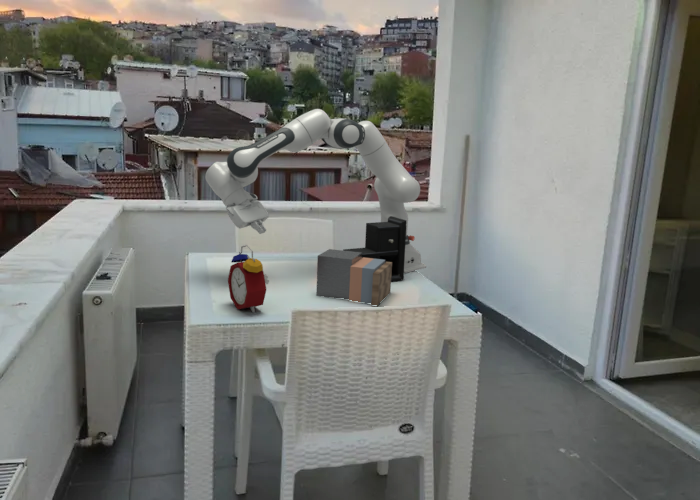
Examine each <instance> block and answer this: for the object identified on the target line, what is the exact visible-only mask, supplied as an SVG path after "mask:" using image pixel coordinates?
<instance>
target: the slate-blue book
mask: <svg viewBox="0 0 700 500" xmlns="http://www.w3.org/2000/svg"><path fill="white" fill-rule="evenodd" d="M384 263H385V260H382V259H373V260H372V261H370V262H369V263H368V264H367V265H365V266H364V267H363V268H362V284H361V302H365V303H371V301H372V283H373V273H374V272H375V271H376V270H377V269H378V268H380V267H381V266H382V265H383V264H384Z"/></svg>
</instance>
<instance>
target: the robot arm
mask: <svg viewBox="0 0 700 500" xmlns="http://www.w3.org/2000/svg"><path fill="white" fill-rule="evenodd" d="M319 140H322V142H323V143H324V144H326V145H327V146H329V147H332V148H336V149H346V150H347V149H352V148H356V149H357V151H358V152H359V155H360V156H361V158H362V159H363V161H364V162H365V164H366V166H367V168H368V169H369V171H370V172H371V173H372V174H373V175H374V176H375V177H376V178H375V181H374V184H373V185H374V187H373V188H374V191H375V192H376V194H377V198H378V203H379V209H380V222H388V218H389V217H390V216H393V217H396V218H400V219H403V220H407V221H406V222H407V224H406V243H405V261H404V274H405V273H406V274H407V273H410V272H415V271H418V270H422V269H423V270H424V269H426V268H427V265H426V264H425V263H423V262H422V256H421V252H419V250H417V249H416V248H415V246H413V245H412V244H411V241H412V242H414V241H415V239H416V238H415V236H414V235H409V234H408V227H409V226H408V225H409V216H408V213H407V211H406V209H405V204H406V203H412V202H415V201H416V200H417V199H418V197H419V196H420V194H421V184H420V183H419V181H417V179H415V178H414V177H413V176H412V175H411V174H410V173H409V172H408V170H407V169H406V168H405V166H403V165H402V163H401V162H400V161H399V160H398V159H397V157H396V156H395V155H394V153H393V151H392V150H391V147H390V146H389V144H388V143H387V141H386V139H385V137H384V136H383V135H382V133H381V131H380V130H379V129H378V128H377V127H376V125H374V123H373V122H372V121H369V120H362V121H360V122H357V121H355V120H352V119H349V118H330V117H329V115H328V113H326V112H325V110H323V109H321V108H314V109H311V110H310V111H306V112H304V113H302V114H300V115H299V116H298V117H296V118H294V119H293V120H291V121H289V122H288V123H287V124H285V125H284V126H282V127H281V128H279V129H278V130H276V131H274V132H272V133H270V134H267V135H266V136H265V137H263V138H261V139H260V140H257V141H255V142H254V143H252V144H249V145H244V146H239V147H236V148H234V149H233V150H232V151H230V153H229V154H228V155H227V159H226V161H215V162H214V163H212V164H211V165H209V167H208V168H207V170H206V172H205V175H204V176H205V177H204V178H205V181H206V183H207V184H208V186H209V187H210V189H211V190H212V191H213V193H214V194H215V195H216V196H218V198H220V199H221V202H222V204H223V205H224V206H225V209H226V211H227V215H228V217H229V219H230V220H231V221H232V223H233V225H234V226H235V227H236V228H238V229H239V230H240V229H243V228H247V227H251V228H252V229H253V230H255V231H256V232H257V233H258V234H260V235H262V234H264V233H266V232H267V229H266V227H265V225H264V223H265V221H266V220H268V219H269V217H270V214H269V212H268V211H267V209H266V207H265V206H264V205H263V203H261V201H259V199H258V196H257V195H256V194H254V193H252V192H248V191H246V190H245V188H246V187H248V186H249V185H251V184H253V183H254V182H256V180H257V178H258V175H259V169H258V168H259V167H258V166H259V165H260V163H261V162H262V161H265V159H267V158H270V157H271V156H272V155H274V154H276V153H278V152H279V151H282V150H284V151H285V150H286V151H288V152H291V153H298V152H301V151H304V150H306V149H307V148H309V147H310V146H312V145H313V144H314V143H316V142H318V141H319ZM263 222H264V223H263Z"/></svg>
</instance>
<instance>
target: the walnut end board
mask: <svg viewBox="0 0 700 500" xmlns="http://www.w3.org/2000/svg"><path fill="white" fill-rule="evenodd" d="M391 273H392V262H386V263H384V264H383V265H382V266H381V267H380V268H378V269H377V270H376V271H375V272H374V273H373V283H372V301H371V305H378V304H379V303H380V302H381V301H382V300H383V299H384V298H385V297H386V296H387V295H388V294H389V295H390V294H391V287H392V282H391ZM389 295H388V296H389ZM388 296H387V297H388ZM387 297H386V298H387ZM386 298H385V299H386ZM385 299H384V300H385ZM384 300H383V301H384ZM383 301H382V302H383ZM382 302H381V303H382ZM381 303H380V304H381ZM380 304H379V305H380ZM379 305H378V306H379Z"/></svg>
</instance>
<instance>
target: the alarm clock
mask: <svg viewBox="0 0 700 500" xmlns="http://www.w3.org/2000/svg"><path fill="white" fill-rule="evenodd" d="M240 247H241V249H240V251H238V254H236V255H234V256H233V257H232V259H231V261H230V262H231V263H232V265H230V269H229V273H228V277H227V284H228V290H229V296H230V299H231V301H232V303H233V304H234V306H235V308H236V310H242V309H244V310H245V309H249V308H250V310H251V313H252V314H254V313H255V311H256V310H255V308H257V307H259V306H263V305H264V302H265V298H266V293H267V285H268V284H269V282H270V280H269V279H268V278H269V275H267V274H265V273H264V266H263V264H262V262H261V261H260V260H259V259H258V258H254V251H253V250H252V249H251V248H250V246H249V245H248V244H245V245H241V246H240ZM246 247H247V249H249V251H251V257H250V256H249V255H248V254H244V253H243V248H246ZM233 263H234V264H233Z"/></svg>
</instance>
